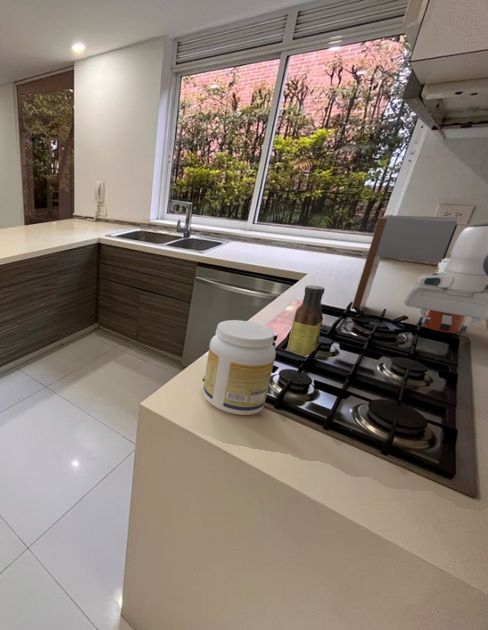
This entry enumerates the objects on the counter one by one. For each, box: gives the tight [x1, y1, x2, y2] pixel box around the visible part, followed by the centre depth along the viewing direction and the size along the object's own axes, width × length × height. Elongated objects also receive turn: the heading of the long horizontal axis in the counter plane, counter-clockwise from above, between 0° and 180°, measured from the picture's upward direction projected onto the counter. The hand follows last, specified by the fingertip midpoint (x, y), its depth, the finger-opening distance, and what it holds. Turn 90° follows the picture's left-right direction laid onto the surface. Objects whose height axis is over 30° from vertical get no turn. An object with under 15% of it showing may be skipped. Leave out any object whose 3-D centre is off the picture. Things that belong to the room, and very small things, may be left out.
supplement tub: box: [202, 319, 277, 416], centre depth 71 cm, size 12×12×17 cm
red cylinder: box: [422, 310, 467, 334], centre depth 105 cm, size 8×21×7 cm, turn 133°
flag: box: [351, 214, 459, 311], centre depth 114 cm, size 17×18×34 cm
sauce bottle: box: [286, 285, 326, 356], centre depth 88 cm, size 6×6×20 cm
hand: (443, 327), depth 100 cm, fingers open, 7 cm apart
